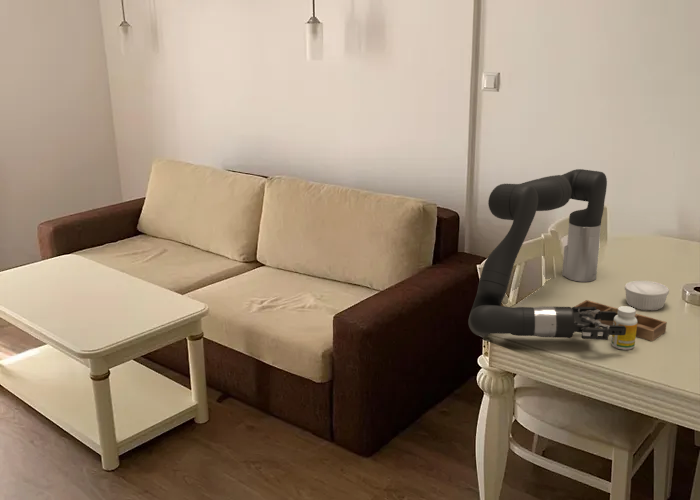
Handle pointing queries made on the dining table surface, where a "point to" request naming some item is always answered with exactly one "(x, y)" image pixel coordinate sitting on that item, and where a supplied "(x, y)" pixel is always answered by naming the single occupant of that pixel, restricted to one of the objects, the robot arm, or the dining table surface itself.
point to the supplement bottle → (630, 322)
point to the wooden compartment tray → (645, 325)
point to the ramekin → (646, 294)
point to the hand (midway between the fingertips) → (620, 323)
